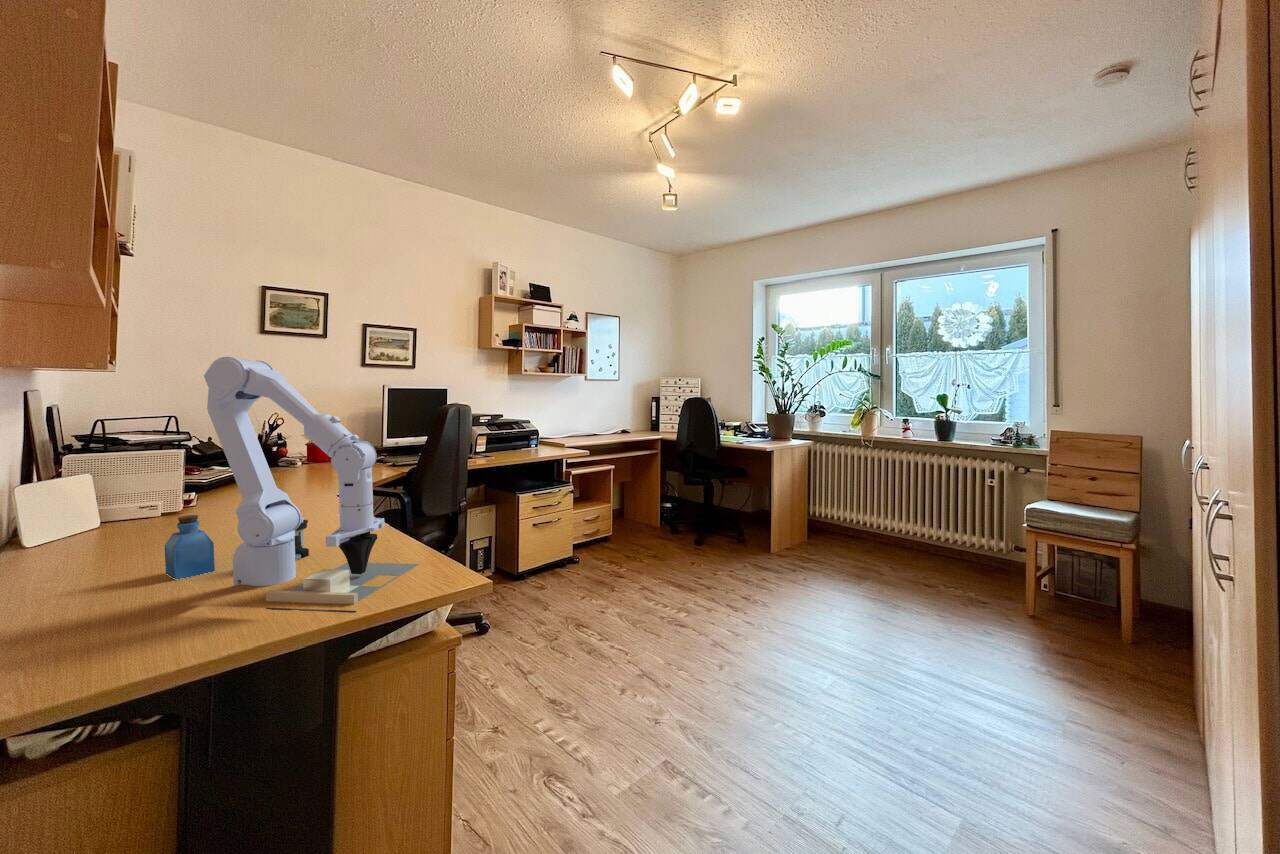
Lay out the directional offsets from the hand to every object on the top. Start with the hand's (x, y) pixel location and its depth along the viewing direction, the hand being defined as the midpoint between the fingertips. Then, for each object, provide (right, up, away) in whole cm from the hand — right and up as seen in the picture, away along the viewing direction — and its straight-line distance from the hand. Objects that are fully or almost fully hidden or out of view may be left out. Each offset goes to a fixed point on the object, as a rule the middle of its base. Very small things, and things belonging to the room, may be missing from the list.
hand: (358, 572), depth 97 cm
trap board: (0, -2, -2) cm, 3 cm away
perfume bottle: (-39, -2, +7) cm, 40 cm away
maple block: (-1, -1, -9) cm, 9 cm away
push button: (-22, -2, +13) cm, 26 cm away
